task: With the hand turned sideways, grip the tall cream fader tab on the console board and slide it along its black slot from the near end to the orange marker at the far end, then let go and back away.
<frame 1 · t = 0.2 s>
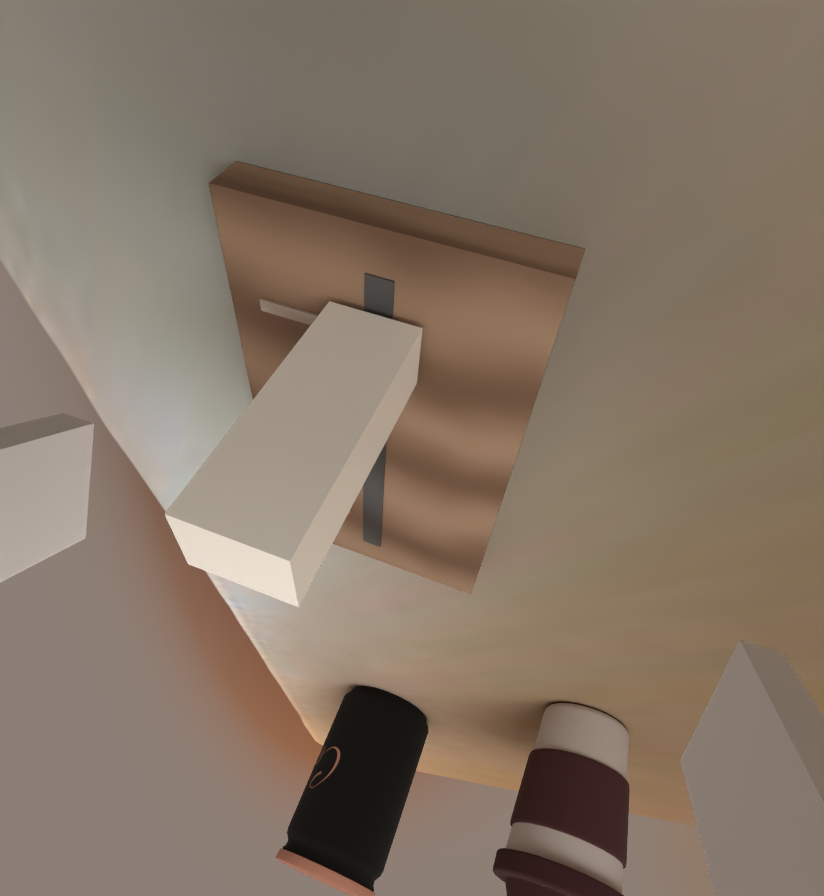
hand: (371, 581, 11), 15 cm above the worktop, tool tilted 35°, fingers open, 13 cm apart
fader tab: (315, 435, 21), point 8 cm above the worktop, slide at -7.0 cm
coffee cup: (586, 717, 52), on the worktop
coffee jar: (390, 703, 70), on the worktop
console board: (389, 417, 31), on the worktop
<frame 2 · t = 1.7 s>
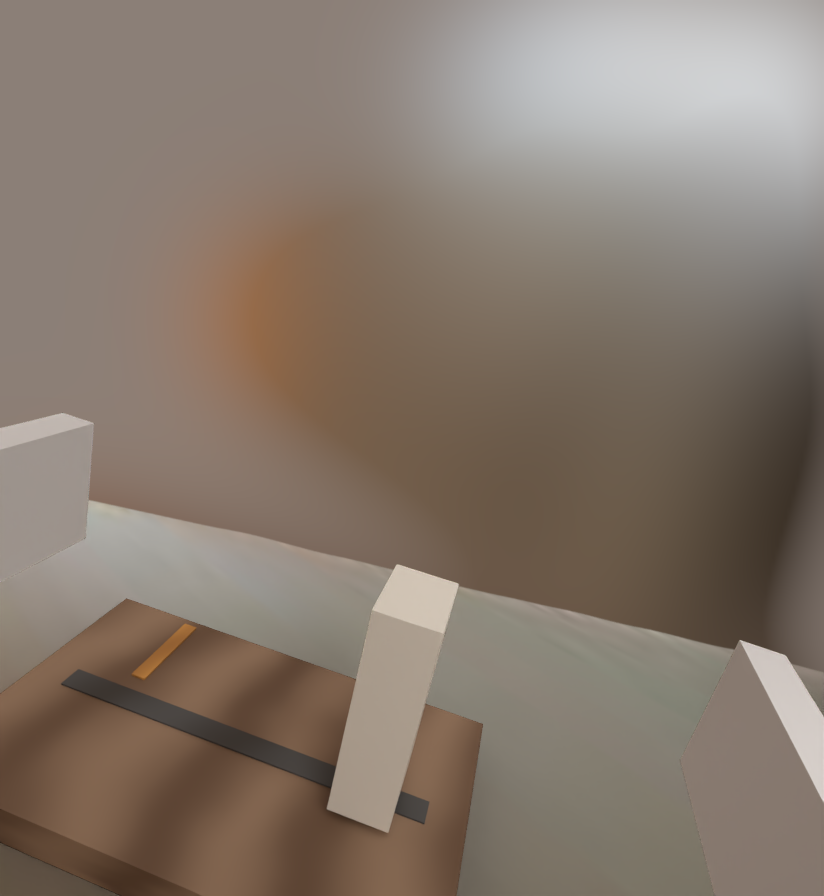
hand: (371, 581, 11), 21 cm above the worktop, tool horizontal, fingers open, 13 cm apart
fader tab: (392, 697, 27), point 8 cm above the worktop, slide at -7.0 cm
console board: (234, 771, 30), on the worktop
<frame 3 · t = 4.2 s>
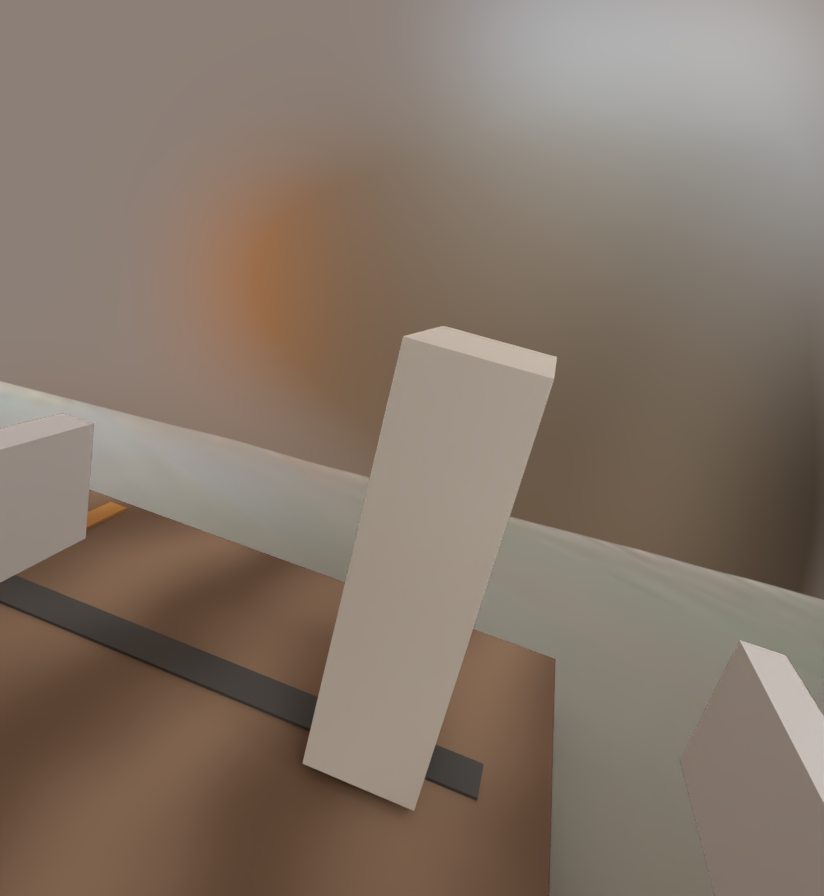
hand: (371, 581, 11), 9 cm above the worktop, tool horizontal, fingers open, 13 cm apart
fader tab: (429, 561, 15), point 8 cm above the worktop, slide at -7.0 cm
console board: (155, 705, 18), on the worktop
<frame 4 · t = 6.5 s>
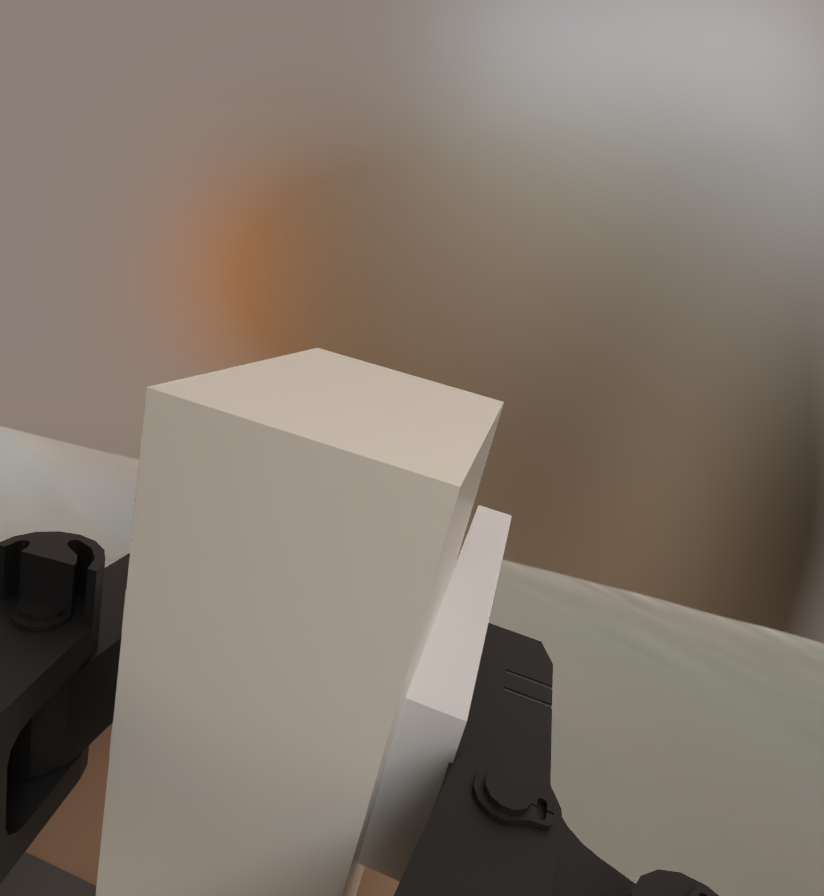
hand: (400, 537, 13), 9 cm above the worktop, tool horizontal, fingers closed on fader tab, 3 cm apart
fader tab: (288, 748, 9), point 8 cm above the worktop, slide at -7.0 cm, touching gripper
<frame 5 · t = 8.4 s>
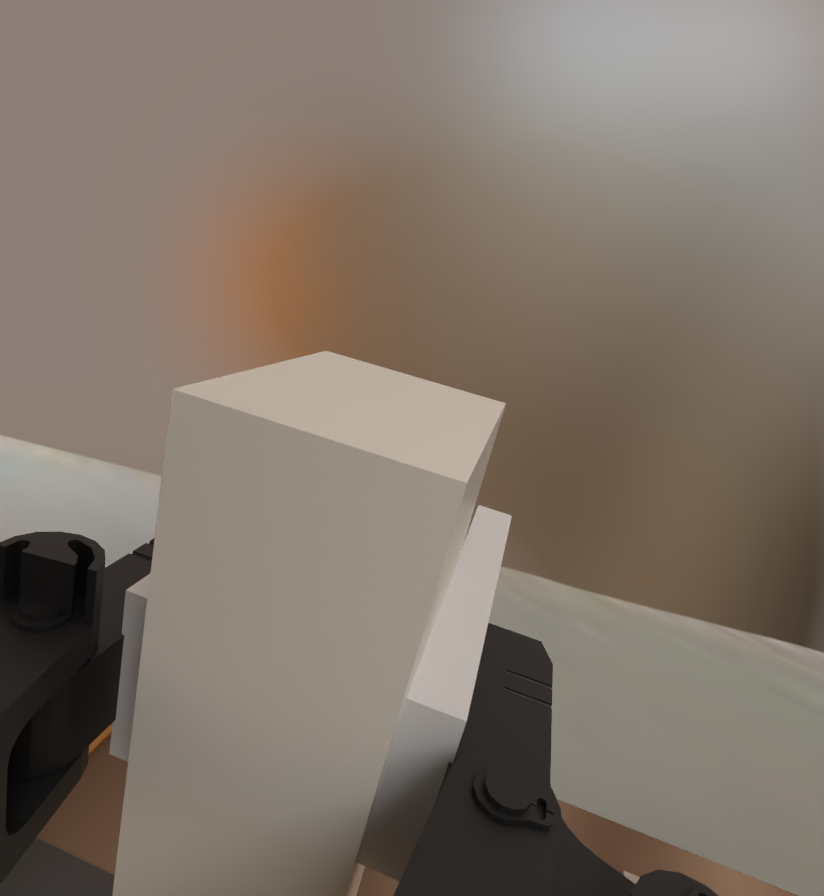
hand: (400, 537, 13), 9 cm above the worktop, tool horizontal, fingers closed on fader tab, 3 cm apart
fader tab: (298, 735, 9), point 8 cm above the worktop, slide at 0.9 cm, touching gripper
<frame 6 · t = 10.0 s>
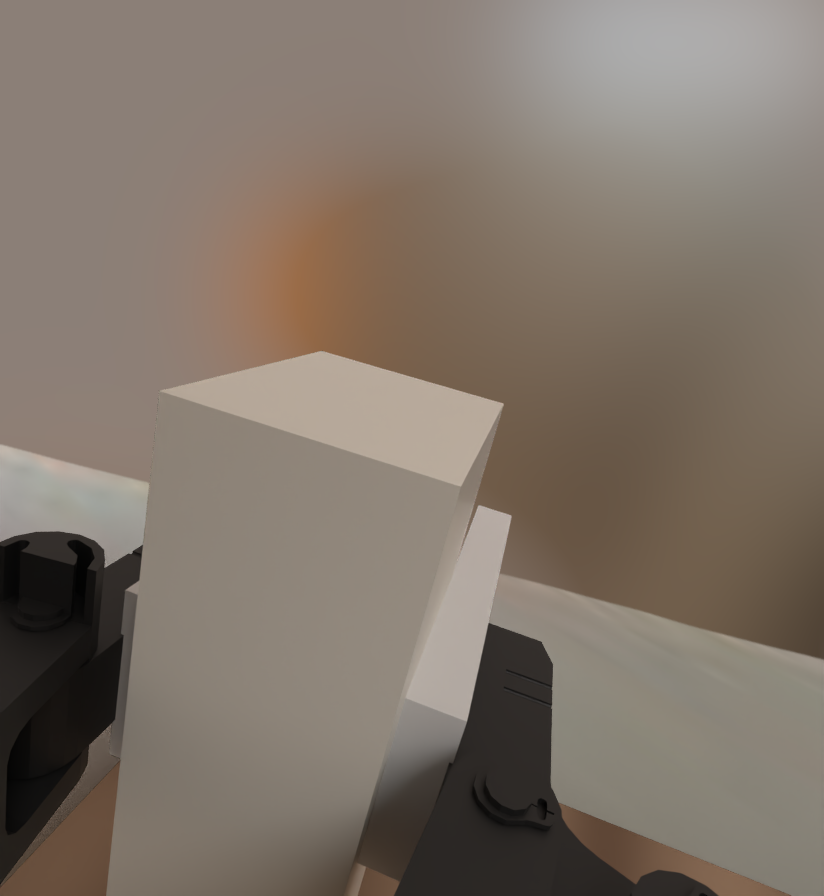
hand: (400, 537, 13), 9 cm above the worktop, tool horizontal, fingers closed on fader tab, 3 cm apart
fader tab: (294, 742, 9), point 8 cm above the worktop, slide at 7.0 cm, touching gripper
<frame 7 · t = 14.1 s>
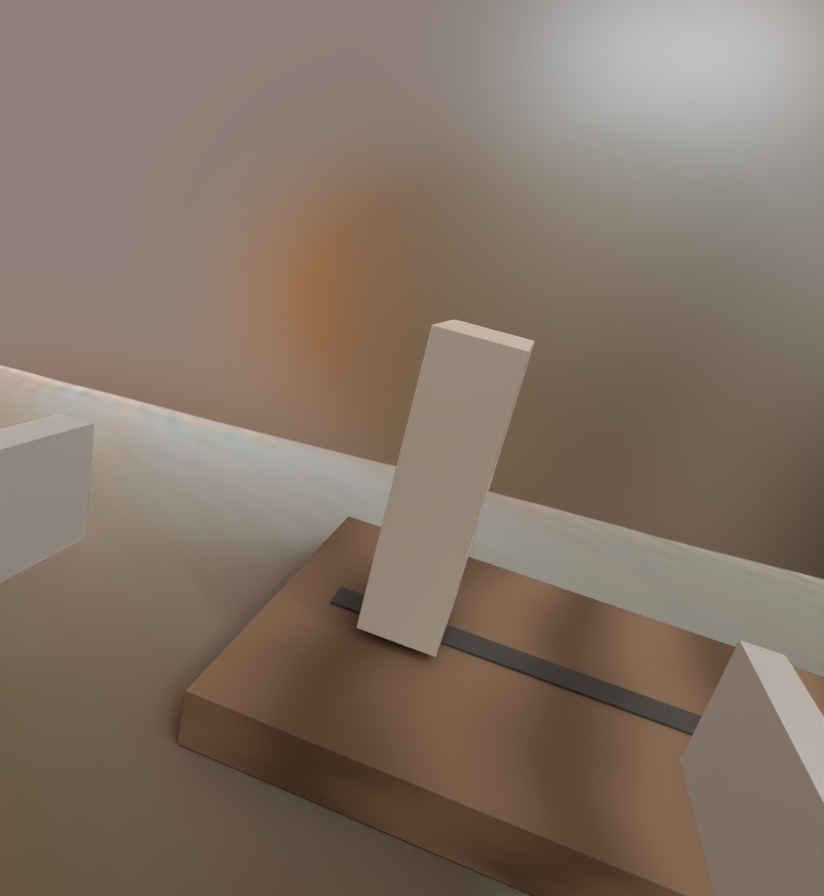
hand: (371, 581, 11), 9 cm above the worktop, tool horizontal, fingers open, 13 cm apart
fader tab: (445, 484, 21), point 8 cm above the worktop, slide at 7.0 cm
console board: (567, 728, 22), on the worktop
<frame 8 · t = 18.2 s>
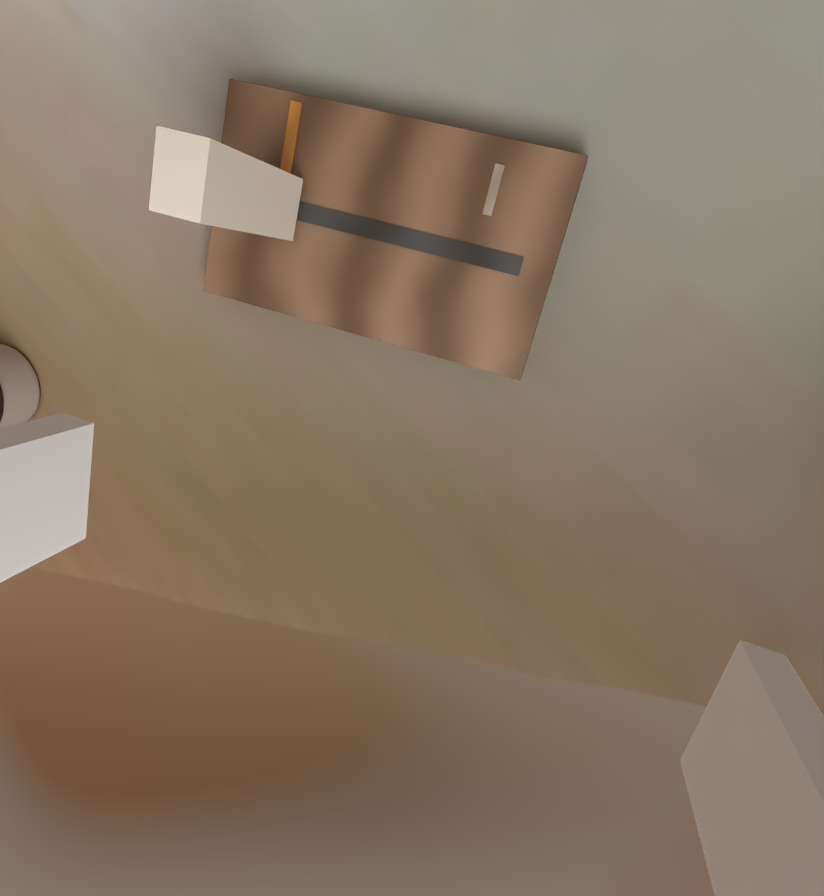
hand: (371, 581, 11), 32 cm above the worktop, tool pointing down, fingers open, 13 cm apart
fader tab: (235, 192, 35), point 8 cm above the worktop, slide at 7.0 cm
coffee cup: (10, 383, 52), on the worktop
console board: (384, 233, 41), on the worktop
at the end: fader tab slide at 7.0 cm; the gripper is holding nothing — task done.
